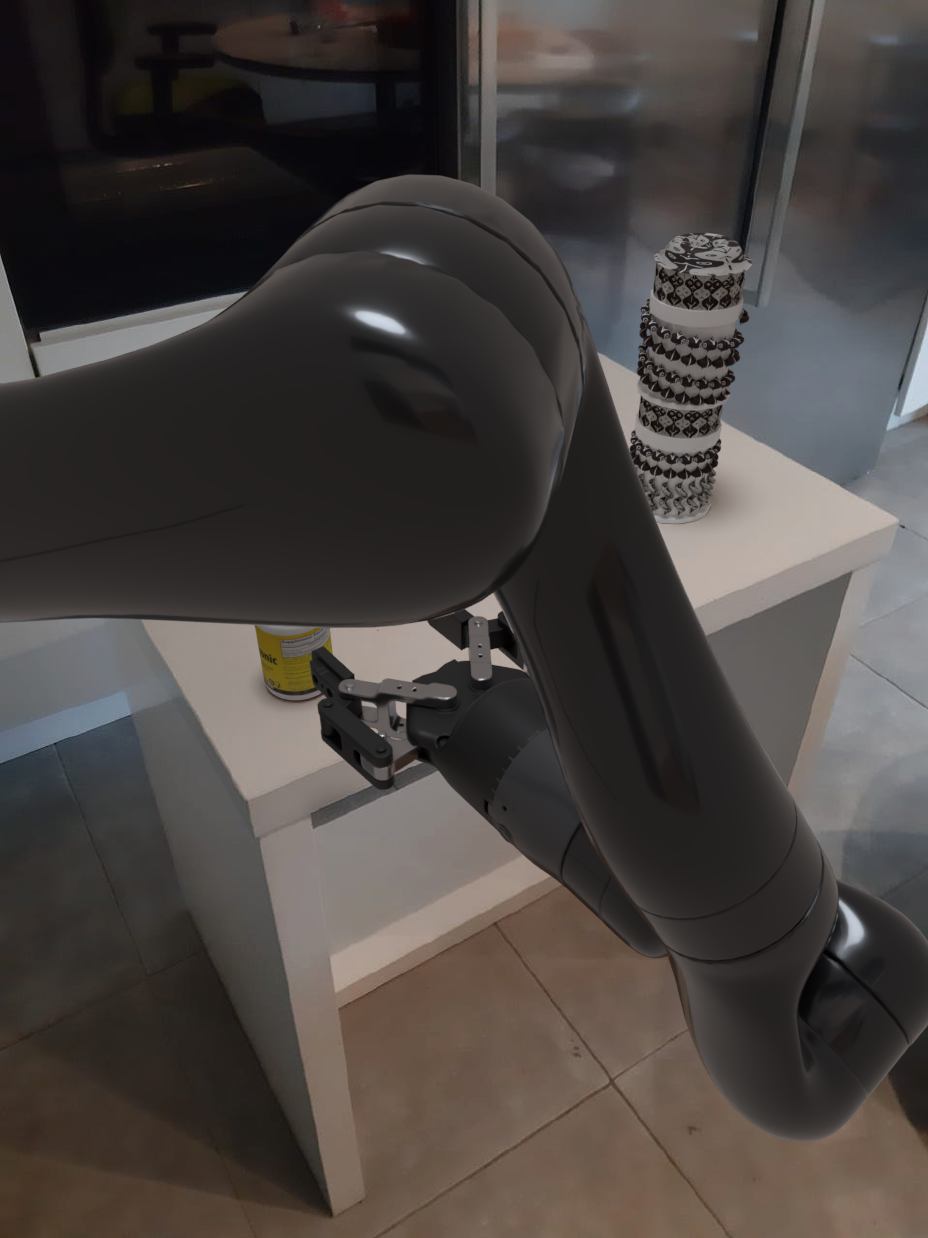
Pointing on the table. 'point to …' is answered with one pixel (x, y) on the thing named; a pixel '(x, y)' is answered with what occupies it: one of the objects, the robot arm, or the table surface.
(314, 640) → the supplement bottle
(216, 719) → the table surface
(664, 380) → the decorative candle
